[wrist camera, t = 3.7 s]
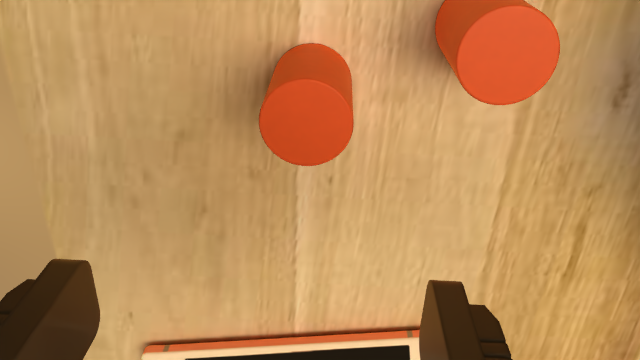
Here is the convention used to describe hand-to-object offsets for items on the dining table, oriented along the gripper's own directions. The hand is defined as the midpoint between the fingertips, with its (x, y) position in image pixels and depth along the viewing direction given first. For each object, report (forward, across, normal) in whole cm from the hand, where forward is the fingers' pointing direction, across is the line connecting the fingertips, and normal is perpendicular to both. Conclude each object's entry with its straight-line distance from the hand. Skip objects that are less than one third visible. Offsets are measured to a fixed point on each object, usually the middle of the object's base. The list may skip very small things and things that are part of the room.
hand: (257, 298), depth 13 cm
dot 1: (+14, -8, -4) cm, 16 cm away
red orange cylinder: (+14, -1, -1) cm, 14 cm away
